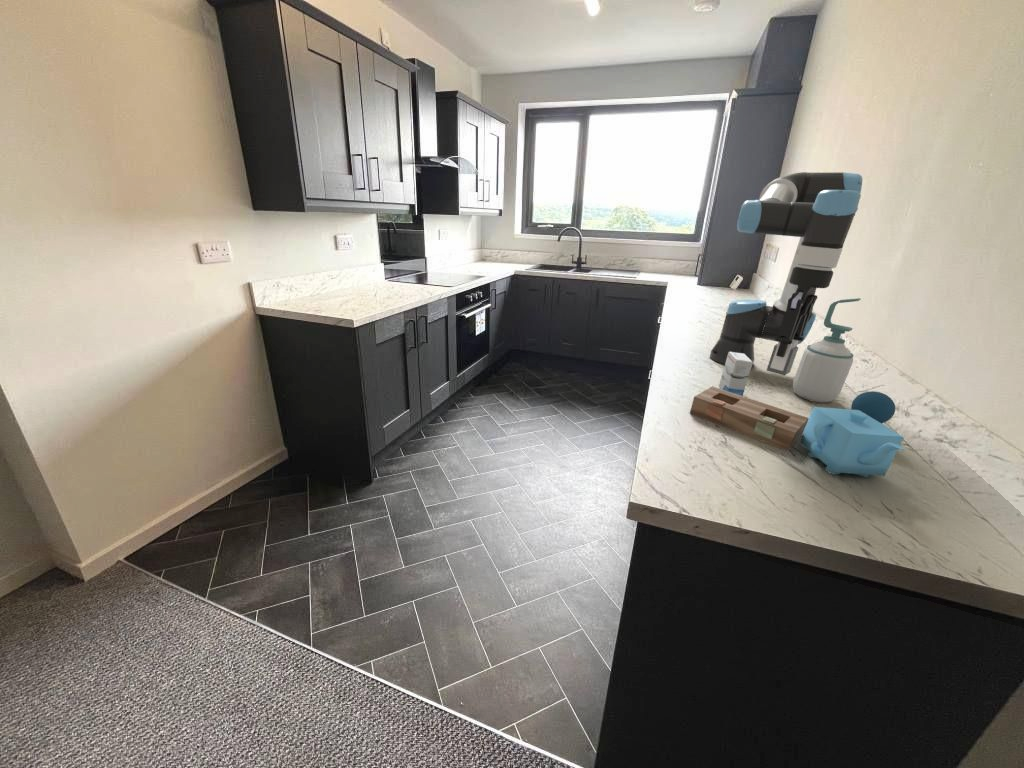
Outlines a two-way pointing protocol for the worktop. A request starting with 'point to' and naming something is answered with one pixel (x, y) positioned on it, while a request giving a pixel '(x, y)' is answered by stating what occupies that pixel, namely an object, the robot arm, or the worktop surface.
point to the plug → (789, 360)
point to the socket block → (750, 417)
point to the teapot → (850, 441)
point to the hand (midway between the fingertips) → (779, 366)
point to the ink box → (735, 373)
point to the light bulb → (875, 405)
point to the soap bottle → (824, 364)
